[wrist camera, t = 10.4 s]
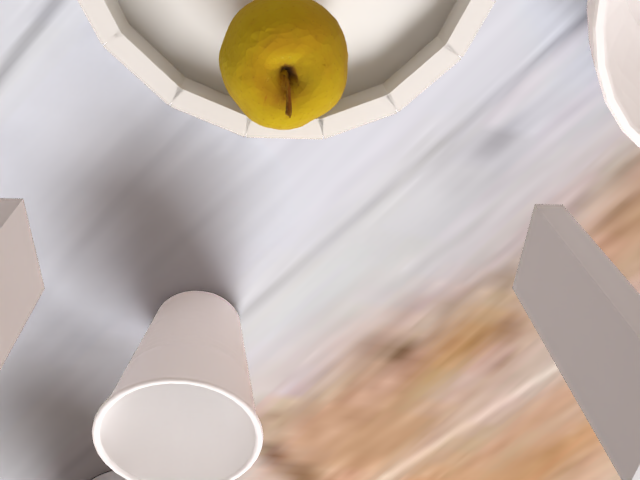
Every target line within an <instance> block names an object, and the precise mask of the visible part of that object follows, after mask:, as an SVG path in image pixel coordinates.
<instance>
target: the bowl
mask: <svg viewBox="0 0 640 480" xmlns="http://www.w3.org/2000/svg"><path fill="white" fill-rule="evenodd" d="M587 19H588V35H589V44H590V49H591V54H592V58H593V62H594V66H595V69H596V73H597V76H598V80H599V83H600V87H601V90H602V93H603V97H604V100H605V103H606V105H607V106H608V108H609V110H610V111H611V113H612V115H613V116H614V118H615V120H616V122H617V123H618V125H619V127H620V128H621V130H622V131H623V132H624V133H625V134H626V135H627V136H628V137H629V138H630V139H631V140H632V141H633V142H634V143H635V144H636V145H637V146H638V147H639V148H640V0H588V2H587Z"/></svg>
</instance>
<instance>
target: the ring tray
mask: <svg viewBox="0 0 640 480" xmlns="http://www.w3.org/2000/svg"><path fill="white" fill-rule="evenodd" d="M252 1H254V0H78V2H79V4H80V6H81V8H82V9H83V11H84V13H85V15H86V17H87V19H88V20H89V22H90V24H91V26H92V28H93V30H94V31H95V33H96V35H97V37H98V39H99V41H100V42H101V44H104V43H106V42H107V43H106V44H105V45H104V46H103V47H104V48H106V49H107V50H108V51H109V52H110V53H111V54H112V55H113V56H114V57H115V58H117V59H118V60H119V61H120V62H121V63H122V64H123V65H124V66H125V67H126V68H128V69H129V70H130V71H131V72H132V73H133V74H134V75H135V76H136V77H138V78H139V79H140V80H141V81H142V82H143V83H144V84H145V85H146V86H147V87H149V88H150V89H151V90H152V91H153V92H154V93H155V94H156V95H157V96H158V97H160V98H161V99H162V100H163V101H164V102H165V103H166V104H167V105H168V106H169V105H170V104H171V103H172V104H171V106H170V107H172V108H175V109H177V110H180V111H182V112H184V113H187V114H189V115H192V116H194V117H197V118H199V119H202V120H204V121H206V122H209V123H211V124H214V125H216V126H219V127H221V128H224V129H226V130H229V131H231V132H233V133H236V134H238V135H241V136H243V137H245V135H246V137H249V138H290V139H323V136H324V139H326V138H329V137H331V136H334V135H337V134H340V133H343V132H345V131H348V130H351V129H354V128H357V127H359V126H362V125H365V124H368V123H371V122H373V121H376V120H379V119H382V118H385V117H387V116H390V115H393V114H396V113H397V112H396V110H397V111H398V112H399V111H401V110H402V109H403V108H404V107H405V106H406V105H408V104H409V103H410V102H411V101H412V100H414V99H415V98H416V97H417V96H418V95H420V94H421V93H422V92H423V91H424V90H425V89H427V88H428V87H429V86H430V85H431V84H433V83H434V82H435V81H436V80H437V79H438V78H440V77H441V76H442V75H443V74H444V73H446V72H447V71H448V70H449V69H450V68H452V67H453V66H454V65H455V64H456V63H457V62H459V61H460V60H461V58H460V57H459V56H461V57H463V56H464V55H465V53H466V51H467V49H468V48H469V46H470V44H471V43H472V41H473V39H474V38H475V36H476V34H477V32H478V31H479V29H480V27H481V26H482V24H483V22H484V20H485V19H486V17H487V15H488V14H489V12H490V10H491V8H492V7H493V5H494V3H495V2H496V0H313V1H315V2H317V3H318V4H320V5H322V6H323V7H324V8H325V9H326V10H328V11H329V12H330V13H331V14H332V16H333V17H334V18H335V19H336V20H337V21H338V23H339V25H340V27H341V29H342V31H343V34H344V37H345V40H346V44H347V51H348V72H347V82H346V86H345V89H344V92H343V94H342V96H341V98H340V100H339V101H338V103H337V104H336V105H335V106H334V107H333V108H332V109H331V110H330V111H328V112H327V113H325V114H323V115H321V116H320V117H318V118H316V119H314V120H312V121H311V122H309V123H307V124H305V125H304V126H302V127H299V128H295V129H291V130H277V129H272V128H267V127H263V126H261V125H258V124H257V123H255V122H253V121H252V120H250V119H249V118H248V117H247V116H246V115H245V114H244V113H243V111H242V110H241V109H240V107H239V106H238V105H237V104H236V102H235V101H234V100H233V99H232V97H231V96H230V94H229V93H228V91H227V89H226V87H225V85H224V82H223V79H222V75H221V71H220V67H219V52H220V49H221V45H222V42H223V39H224V37H225V34H226V32H227V29H228V27H229V25H230V23H231V21H232V19H233V18H234V16H235V15H236V14H237V13H238V11H240V10H241V9H242V8H243V7H244V6H245V5H247V4H249V3H250V2H252Z"/></svg>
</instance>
